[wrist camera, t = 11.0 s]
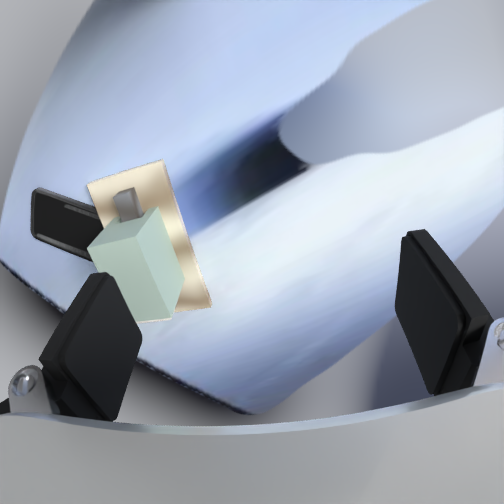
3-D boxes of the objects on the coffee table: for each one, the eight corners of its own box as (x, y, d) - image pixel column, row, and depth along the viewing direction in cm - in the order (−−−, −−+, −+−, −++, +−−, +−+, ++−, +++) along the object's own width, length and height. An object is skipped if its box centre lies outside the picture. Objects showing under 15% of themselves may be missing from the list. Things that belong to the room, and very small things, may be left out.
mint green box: (114, 217, 36) (86, 248, 30) (158, 206, 36) (135, 236, 29) (147, 293, 42) (130, 331, 35) (188, 287, 41) (176, 327, 35)
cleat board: (90, 181, 35) (78, 190, 33) (163, 159, 34) (155, 166, 31) (146, 311, 45) (140, 325, 42) (212, 302, 44) (209, 317, 41)
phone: (119, 272, 41) (30, 236, 38) (122, 267, 42) (34, 232, 39) (128, 221, 37) (31, 186, 35) (131, 217, 38) (36, 183, 36)
